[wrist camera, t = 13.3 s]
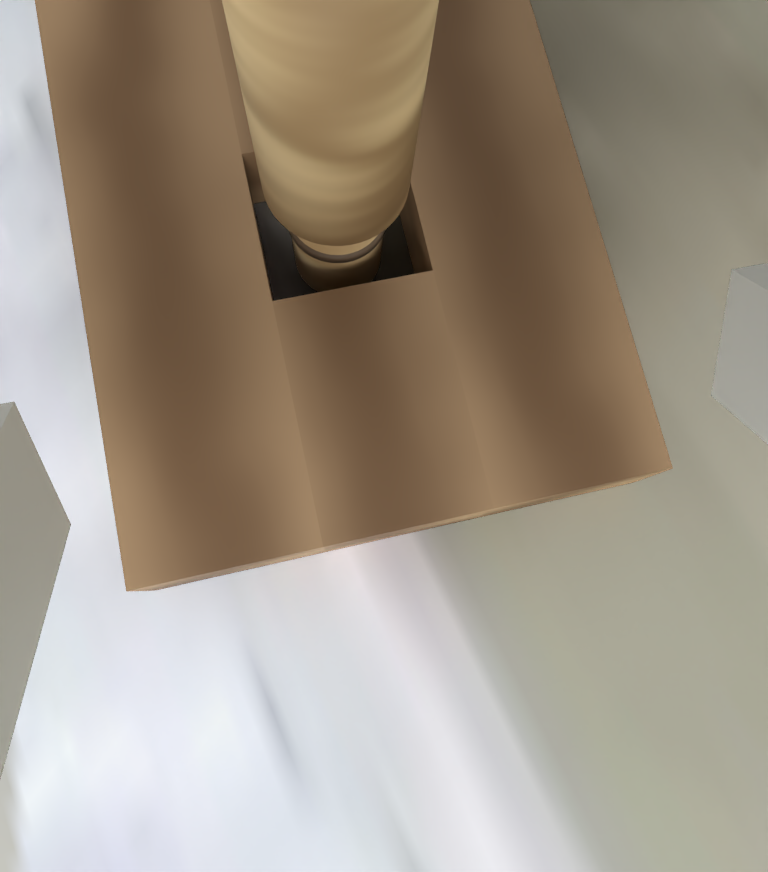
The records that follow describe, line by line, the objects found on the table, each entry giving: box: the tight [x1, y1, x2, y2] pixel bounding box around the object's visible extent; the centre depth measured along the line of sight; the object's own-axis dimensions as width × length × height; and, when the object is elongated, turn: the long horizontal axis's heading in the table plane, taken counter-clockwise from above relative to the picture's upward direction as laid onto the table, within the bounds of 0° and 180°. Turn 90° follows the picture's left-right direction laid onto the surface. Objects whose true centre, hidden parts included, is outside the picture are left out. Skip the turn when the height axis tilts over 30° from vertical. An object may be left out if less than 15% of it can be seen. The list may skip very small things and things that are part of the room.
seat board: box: [35, 0, 673, 591], centre depth 24 cm, size 16×20×3 cm
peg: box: [222, 0, 439, 292], centre depth 18 cm, size 4×4×14 cm
